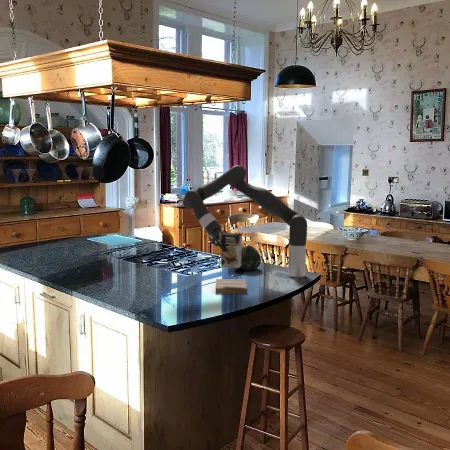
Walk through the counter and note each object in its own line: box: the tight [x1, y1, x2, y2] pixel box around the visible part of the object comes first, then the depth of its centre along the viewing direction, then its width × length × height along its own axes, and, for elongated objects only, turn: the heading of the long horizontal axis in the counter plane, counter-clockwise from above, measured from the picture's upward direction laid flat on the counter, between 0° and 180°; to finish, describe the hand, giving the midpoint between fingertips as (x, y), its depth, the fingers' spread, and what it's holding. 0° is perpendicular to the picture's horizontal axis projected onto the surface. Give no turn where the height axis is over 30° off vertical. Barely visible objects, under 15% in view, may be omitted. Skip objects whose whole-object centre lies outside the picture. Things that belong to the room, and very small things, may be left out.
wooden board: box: [215, 278, 248, 295], centre depth 250 cm, size 17×15×2 cm
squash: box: [238, 245, 262, 272], centre depth 289 cm, size 14×15×15 cm
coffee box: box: [220, 232, 243, 269], centre depth 248 cm, size 9×6×16 cm
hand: (230, 249), depth 248 cm, fingers closed on coffee box, 7 cm apart
